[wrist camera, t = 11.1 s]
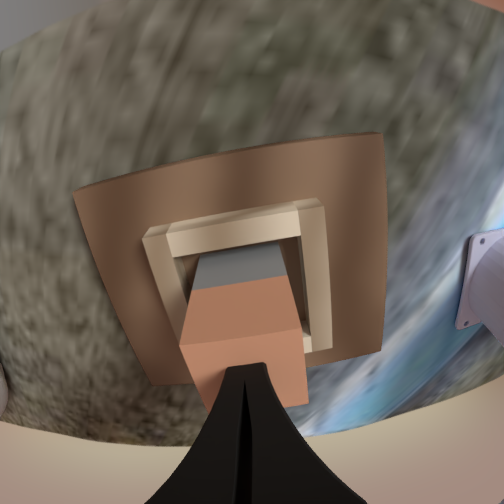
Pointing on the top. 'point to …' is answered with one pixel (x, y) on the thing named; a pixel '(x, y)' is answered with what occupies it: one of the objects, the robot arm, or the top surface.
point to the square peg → (244, 322)
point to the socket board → (247, 240)
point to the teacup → (3, 391)
